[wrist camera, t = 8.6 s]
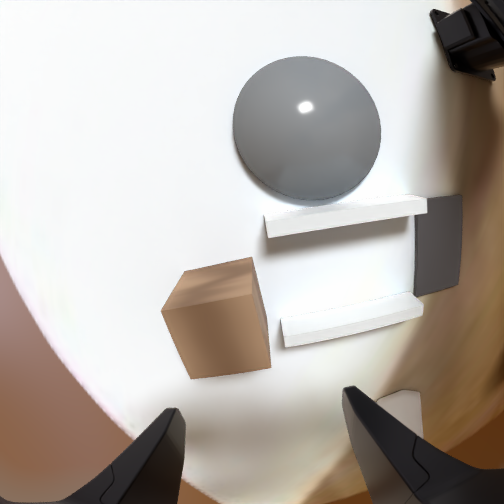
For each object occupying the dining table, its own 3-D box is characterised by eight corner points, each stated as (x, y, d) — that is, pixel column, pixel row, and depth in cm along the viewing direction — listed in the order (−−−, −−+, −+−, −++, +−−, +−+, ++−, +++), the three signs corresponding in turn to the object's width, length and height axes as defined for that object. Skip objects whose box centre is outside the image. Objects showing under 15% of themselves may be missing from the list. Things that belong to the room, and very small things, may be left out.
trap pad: (459, 194, 18) (462, 195, 18) (455, 282, 20) (458, 284, 20) (414, 199, 18) (417, 200, 18) (413, 295, 21) (415, 297, 20)
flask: (353, 433, 26) (374, 500, 17) (373, 392, 24) (406, 467, 14) (404, 423, 26) (431, 482, 17) (427, 383, 24) (466, 445, 14)
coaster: (361, 58, 15) (364, 55, 15) (385, 190, 18) (389, 190, 18) (222, 69, 16) (221, 66, 15) (247, 209, 19) (247, 211, 18)
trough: (408, 194, 18) (426, 198, 16) (408, 301, 21) (422, 315, 18) (263, 214, 19) (265, 221, 16) (282, 329, 21) (285, 347, 19)
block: (252, 256, 20) (251, 293, 14) (266, 317, 21) (271, 367, 15) (184, 271, 20) (160, 310, 14) (204, 328, 22) (190, 379, 16)
